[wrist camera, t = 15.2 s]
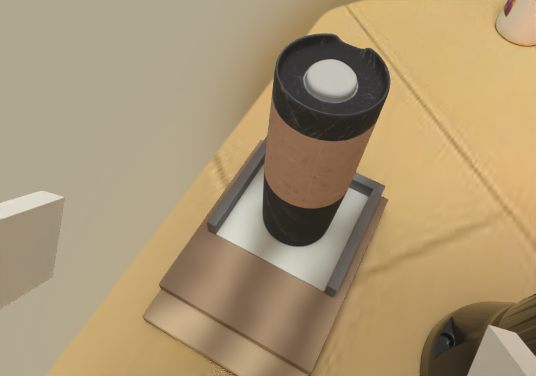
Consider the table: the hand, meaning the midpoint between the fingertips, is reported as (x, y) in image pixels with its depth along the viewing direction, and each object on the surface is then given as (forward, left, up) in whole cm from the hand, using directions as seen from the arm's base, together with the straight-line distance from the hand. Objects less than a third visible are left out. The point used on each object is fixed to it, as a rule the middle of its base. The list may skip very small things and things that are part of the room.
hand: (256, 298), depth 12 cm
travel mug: (-8, -15, -26) cm, 31 cm away
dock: (-5, -12, -30) cm, 32 cm away
